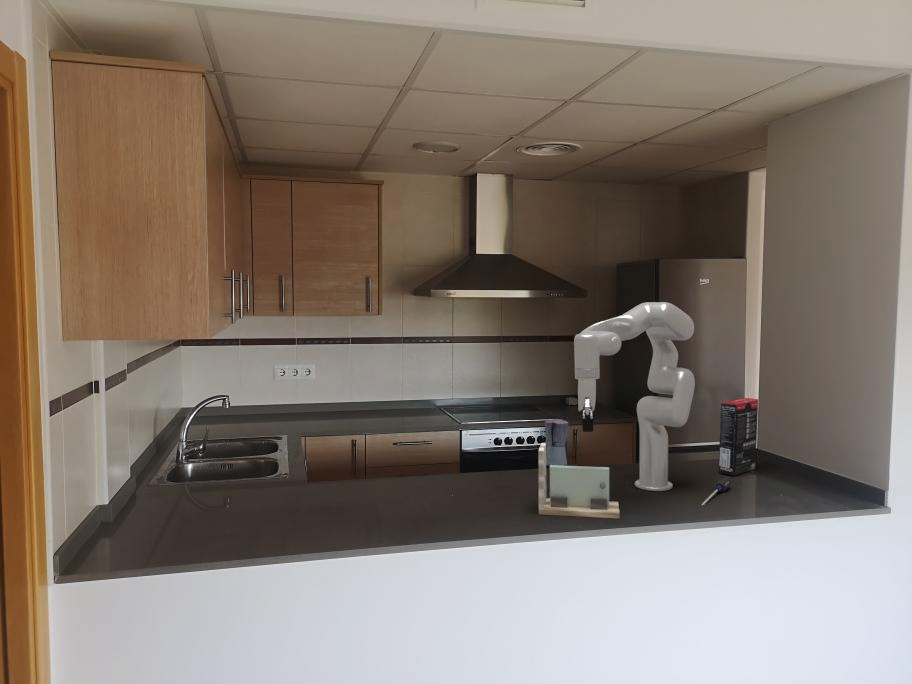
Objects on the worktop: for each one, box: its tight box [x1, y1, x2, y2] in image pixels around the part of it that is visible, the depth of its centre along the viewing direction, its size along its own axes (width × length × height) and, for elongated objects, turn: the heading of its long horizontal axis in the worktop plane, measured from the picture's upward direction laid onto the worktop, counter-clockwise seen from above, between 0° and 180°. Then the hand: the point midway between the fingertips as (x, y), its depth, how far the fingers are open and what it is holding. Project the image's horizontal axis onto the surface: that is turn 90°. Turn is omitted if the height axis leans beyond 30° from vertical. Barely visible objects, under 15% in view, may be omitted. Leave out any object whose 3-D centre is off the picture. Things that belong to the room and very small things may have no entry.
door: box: [549, 465, 610, 508], centre depth 203 cm, size 4×18×12 cm, turn 78°
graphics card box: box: [718, 397, 759, 477], centre depth 247 cm, size 17×7×27 cm, turn 130°
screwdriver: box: [701, 476, 732, 506], centre depth 217 cm, size 26×4×4 cm, turn 141°
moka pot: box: [544, 414, 569, 467], centre depth 260 cm, size 10×15×20 cm, turn 164°
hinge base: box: [537, 442, 621, 520], centre depth 204 cm, size 12×24×20 cm, turn 78°
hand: (588, 428), depth 204 cm, fingers open, 9 cm apart
